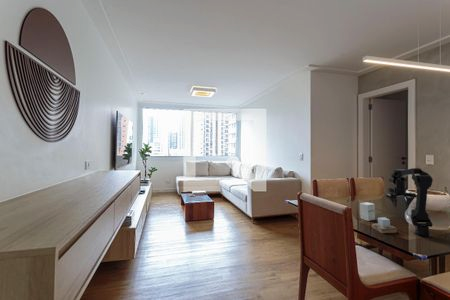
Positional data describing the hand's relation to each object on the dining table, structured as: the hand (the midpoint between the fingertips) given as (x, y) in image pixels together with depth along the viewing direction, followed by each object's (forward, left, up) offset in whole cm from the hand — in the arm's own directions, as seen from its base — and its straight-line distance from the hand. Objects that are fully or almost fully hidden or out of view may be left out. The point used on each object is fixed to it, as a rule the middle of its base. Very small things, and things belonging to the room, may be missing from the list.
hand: (401, 207), depth 166 cm
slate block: (-11, +21, -9) cm, 25 cm away
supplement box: (+12, +18, -12) cm, 25 cm away
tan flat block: (-11, +21, -12) cm, 27 cm away
